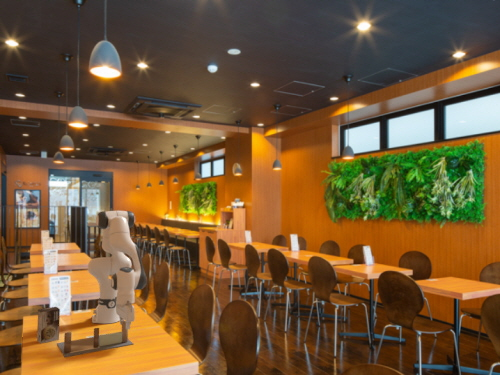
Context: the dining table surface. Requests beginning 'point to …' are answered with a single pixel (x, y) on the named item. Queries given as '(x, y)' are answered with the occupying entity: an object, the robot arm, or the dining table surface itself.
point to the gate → (114, 336)
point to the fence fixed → (80, 342)
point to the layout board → (105, 347)
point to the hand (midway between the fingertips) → (124, 326)
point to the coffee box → (48, 324)
